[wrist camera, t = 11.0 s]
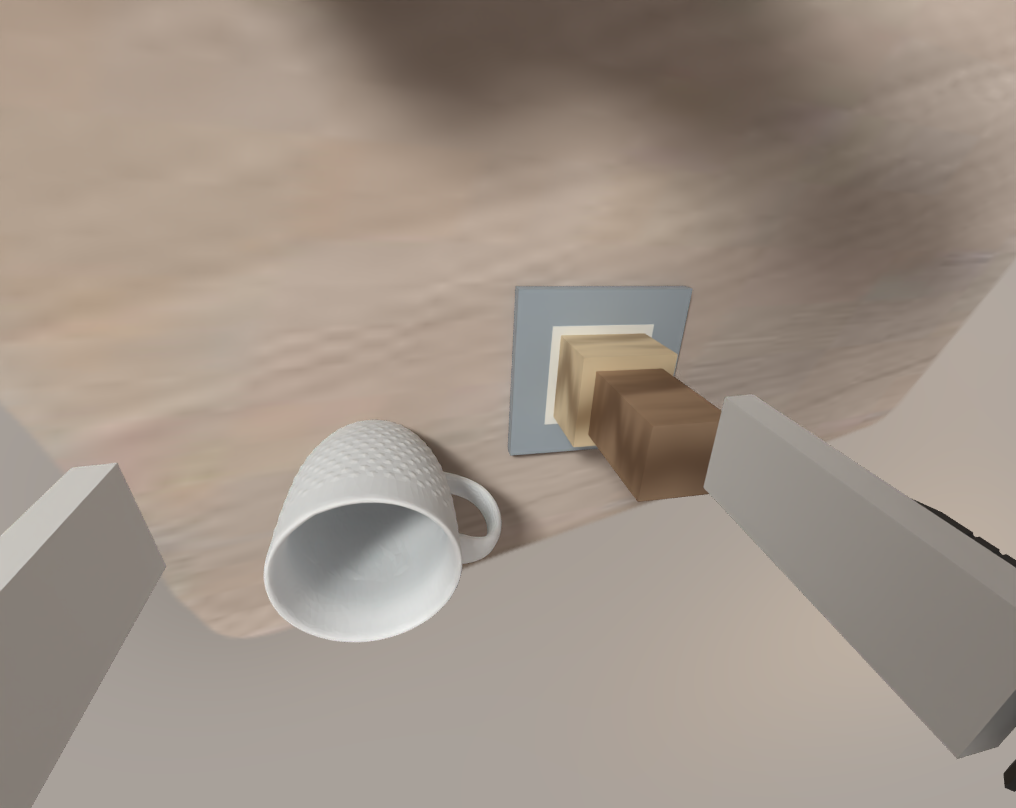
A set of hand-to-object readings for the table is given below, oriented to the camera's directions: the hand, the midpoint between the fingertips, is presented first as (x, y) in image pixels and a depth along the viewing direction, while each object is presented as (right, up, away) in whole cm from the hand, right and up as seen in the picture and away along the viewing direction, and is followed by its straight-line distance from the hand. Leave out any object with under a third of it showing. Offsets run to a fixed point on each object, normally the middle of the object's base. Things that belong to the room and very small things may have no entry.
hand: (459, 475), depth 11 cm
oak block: (+8, +4, +27) cm, 29 cm away
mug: (-9, -3, +28) cm, 29 cm away
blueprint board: (+8, +4, +28) cm, 30 cm away
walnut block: (+9, +2, +23) cm, 25 cm away
